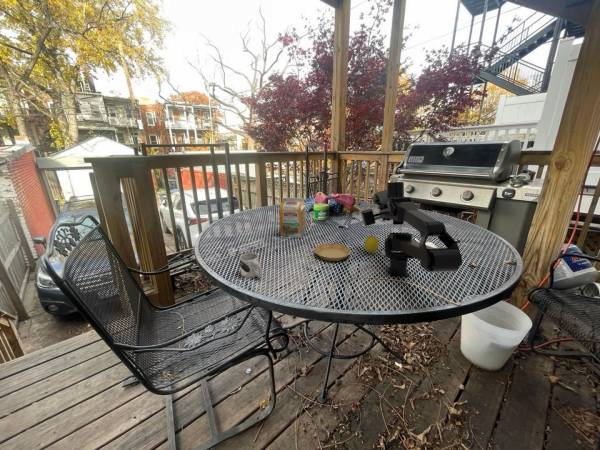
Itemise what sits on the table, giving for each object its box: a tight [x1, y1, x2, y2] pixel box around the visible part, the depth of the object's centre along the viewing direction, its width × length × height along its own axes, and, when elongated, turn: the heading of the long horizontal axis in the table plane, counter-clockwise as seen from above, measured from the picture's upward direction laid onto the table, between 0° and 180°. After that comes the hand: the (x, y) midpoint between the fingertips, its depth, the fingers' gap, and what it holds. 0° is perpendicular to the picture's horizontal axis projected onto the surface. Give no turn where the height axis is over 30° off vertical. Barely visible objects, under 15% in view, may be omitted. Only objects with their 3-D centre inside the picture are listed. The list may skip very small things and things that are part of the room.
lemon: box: [364, 234, 380, 254], centre depth 104 cm, size 6×6×8 cm
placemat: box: [417, 241, 439, 248], centre depth 107 cm, size 14×10×1 cm
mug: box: [239, 252, 263, 279], centre depth 89 cm, size 10×7×7 cm
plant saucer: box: [314, 242, 352, 262], centre depth 104 cm, size 15×15×3 cm
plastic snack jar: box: [278, 197, 307, 239], centre depth 125 cm, size 11×10×19 cm
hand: (379, 212), depth 108 cm, fingers open, 9 cm apart
